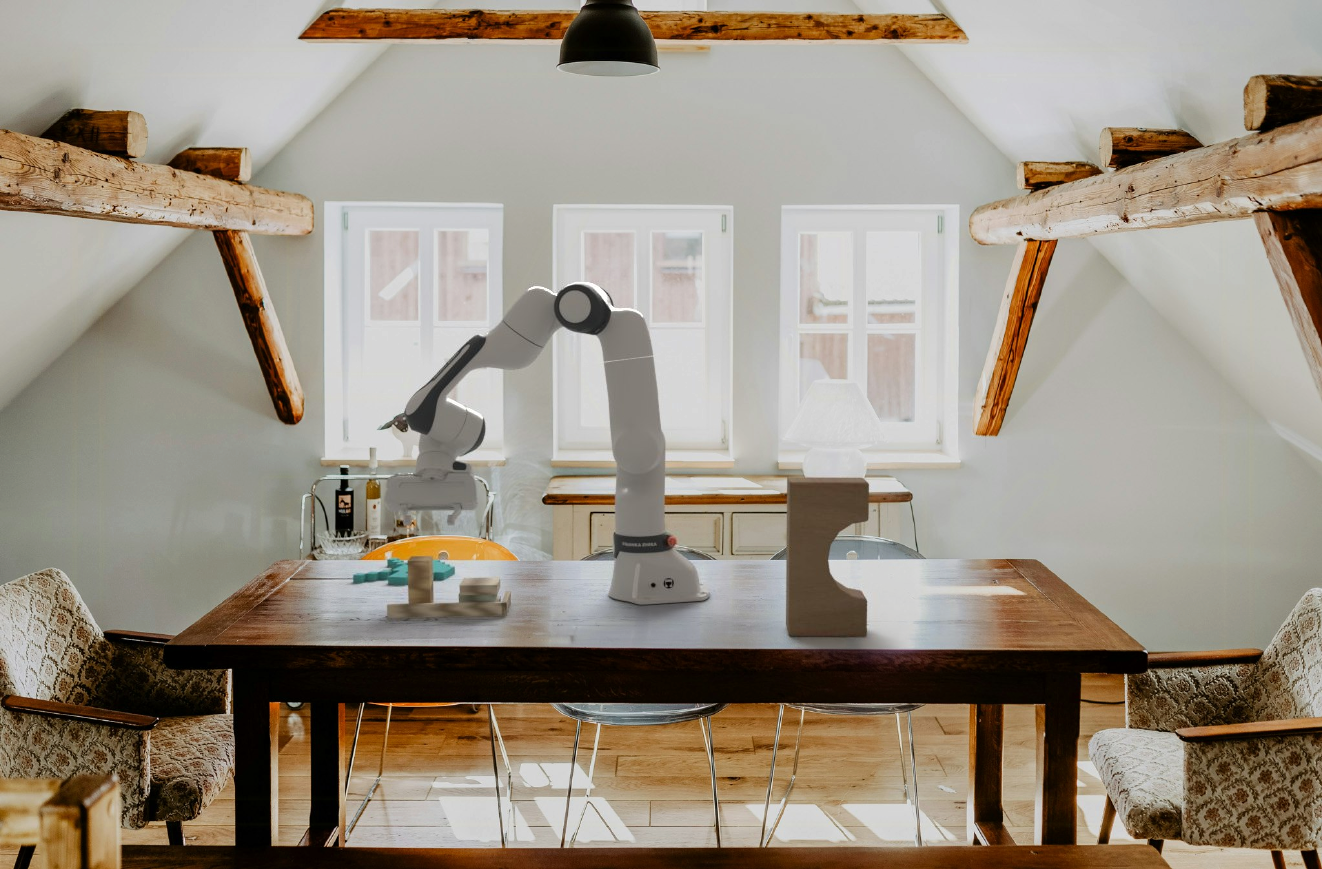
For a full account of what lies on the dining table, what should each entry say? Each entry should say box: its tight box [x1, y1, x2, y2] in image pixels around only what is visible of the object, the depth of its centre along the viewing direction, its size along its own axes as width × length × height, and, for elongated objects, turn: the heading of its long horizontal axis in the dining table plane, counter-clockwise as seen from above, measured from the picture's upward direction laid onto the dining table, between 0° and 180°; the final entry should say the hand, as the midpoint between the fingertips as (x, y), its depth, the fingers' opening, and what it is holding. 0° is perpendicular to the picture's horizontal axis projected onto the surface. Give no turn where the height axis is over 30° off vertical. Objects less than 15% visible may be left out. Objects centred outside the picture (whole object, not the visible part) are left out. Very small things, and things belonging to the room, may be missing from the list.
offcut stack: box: [458, 576, 502, 603], centre depth 217 cm, size 8×7×6 cm
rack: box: [386, 590, 512, 619], centre depth 216 cm, size 24×10×4 cm, turn 93°
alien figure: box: [352, 557, 456, 586], centre depth 254 cm, size 20×2×20 cm
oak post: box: [407, 555, 435, 603], centre depth 216 cm, size 4×4×11 cm
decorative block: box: [785, 476, 870, 638], centre depth 203 cm, size 15×8×30 cm, turn 87°
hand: (428, 524), depth 227 cm, fingers open, 8 cm apart
